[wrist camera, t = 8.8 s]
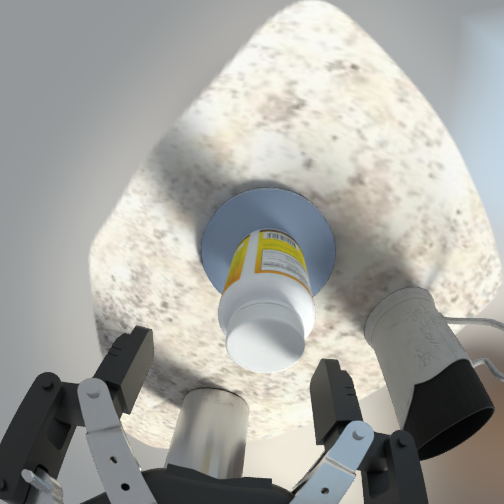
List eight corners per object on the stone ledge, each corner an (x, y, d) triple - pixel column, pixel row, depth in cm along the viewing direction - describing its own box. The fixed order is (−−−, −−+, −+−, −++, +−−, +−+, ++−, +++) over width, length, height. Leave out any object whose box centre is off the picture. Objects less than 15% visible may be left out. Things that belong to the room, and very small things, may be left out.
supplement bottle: (246, 293, 24) (231, 388, 14) (225, 236, 21) (190, 316, 12) (309, 278, 22) (327, 372, 13) (294, 217, 20) (310, 291, 11)
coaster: (309, 315, 25) (310, 322, 24) (196, 290, 25) (194, 296, 24) (350, 207, 21) (353, 210, 20) (216, 173, 20) (213, 175, 20)
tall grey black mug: (354, 311, 25) (398, 447, 11) (468, 249, 21) (558, 337, 8) (373, 361, 28) (405, 471, 14) (471, 308, 24) (532, 394, 10)
